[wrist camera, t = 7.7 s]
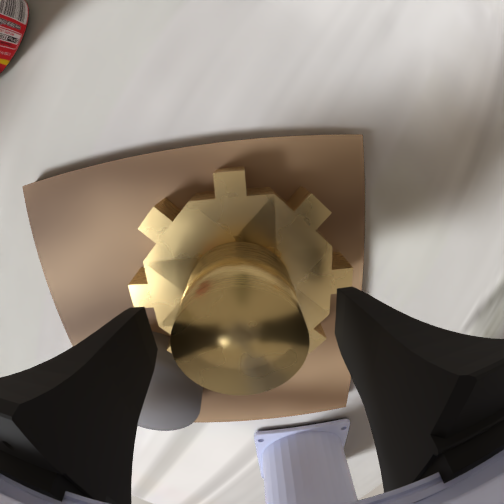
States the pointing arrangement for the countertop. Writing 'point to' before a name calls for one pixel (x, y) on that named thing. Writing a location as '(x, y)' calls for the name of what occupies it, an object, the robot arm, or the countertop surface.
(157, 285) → the brass gear
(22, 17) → the soda can
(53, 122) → the countertop surface
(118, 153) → the countertop surface
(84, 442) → the robot arm
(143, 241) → the carrier plate
